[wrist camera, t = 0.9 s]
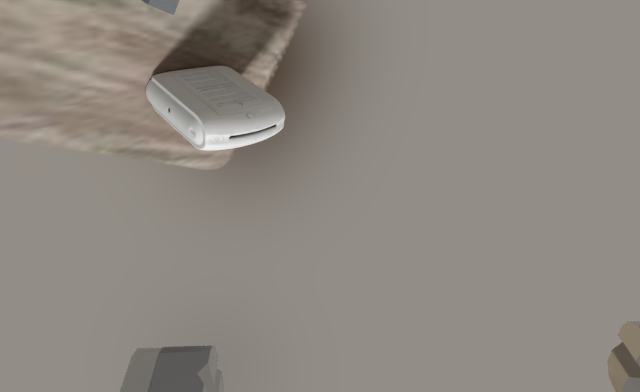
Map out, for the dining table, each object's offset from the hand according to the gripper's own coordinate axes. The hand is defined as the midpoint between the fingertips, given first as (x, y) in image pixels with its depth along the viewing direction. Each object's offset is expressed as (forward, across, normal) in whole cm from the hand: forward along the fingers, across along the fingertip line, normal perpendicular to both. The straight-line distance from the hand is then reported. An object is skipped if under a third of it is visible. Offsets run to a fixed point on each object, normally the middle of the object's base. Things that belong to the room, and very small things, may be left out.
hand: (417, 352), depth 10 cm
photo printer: (+47, +15, +11) cm, 51 cm away
